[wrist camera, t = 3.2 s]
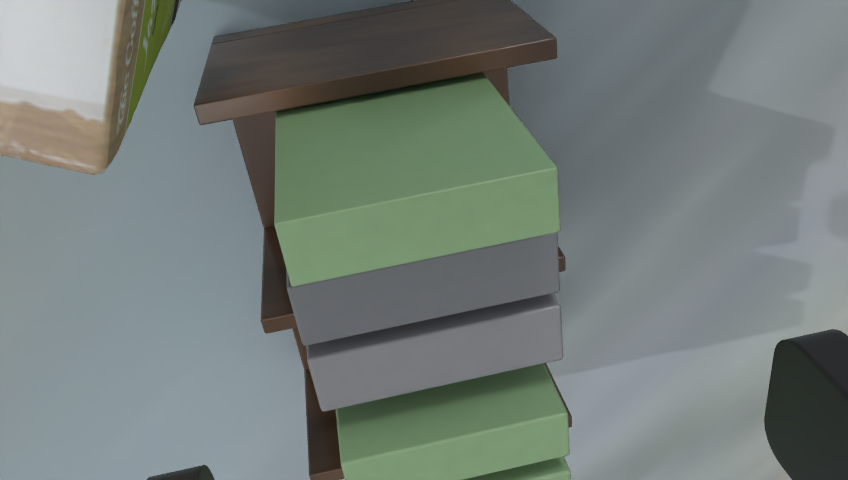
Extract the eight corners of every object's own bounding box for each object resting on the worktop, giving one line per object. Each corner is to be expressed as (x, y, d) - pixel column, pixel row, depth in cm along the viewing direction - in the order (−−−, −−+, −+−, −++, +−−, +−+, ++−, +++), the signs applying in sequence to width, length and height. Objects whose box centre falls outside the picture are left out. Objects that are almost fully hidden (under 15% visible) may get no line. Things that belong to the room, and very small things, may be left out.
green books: (337, 310, 31) (366, 558, 21) (318, 233, 29) (340, 464, 19) (477, 281, 31) (573, 509, 21) (468, 203, 29) (568, 413, 19)
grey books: (307, 214, 28) (321, 413, 19) (283, 118, 26) (286, 287, 17) (471, 182, 29) (564, 360, 20) (460, 84, 27) (558, 231, 17)
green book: (286, 101, 26) (291, 288, 16) (275, 56, 25) (273, 223, 15) (452, 69, 27) (560, 232, 16) (447, 25, 26) (558, 167, 15)
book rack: (306, 365, 33) (312, 486, 27) (212, 36, 26) (192, 105, 20) (521, 319, 34) (572, 427, 28) (493, -14, 26) (557, 37, 20)
